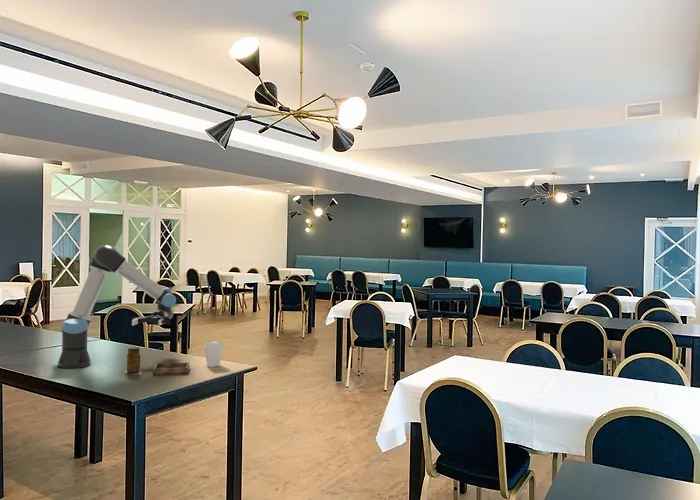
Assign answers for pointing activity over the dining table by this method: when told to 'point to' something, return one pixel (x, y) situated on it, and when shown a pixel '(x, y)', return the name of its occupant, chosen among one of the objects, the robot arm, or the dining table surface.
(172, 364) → the holder tray
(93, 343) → the dining table surface
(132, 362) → the condiment
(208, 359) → the cup
